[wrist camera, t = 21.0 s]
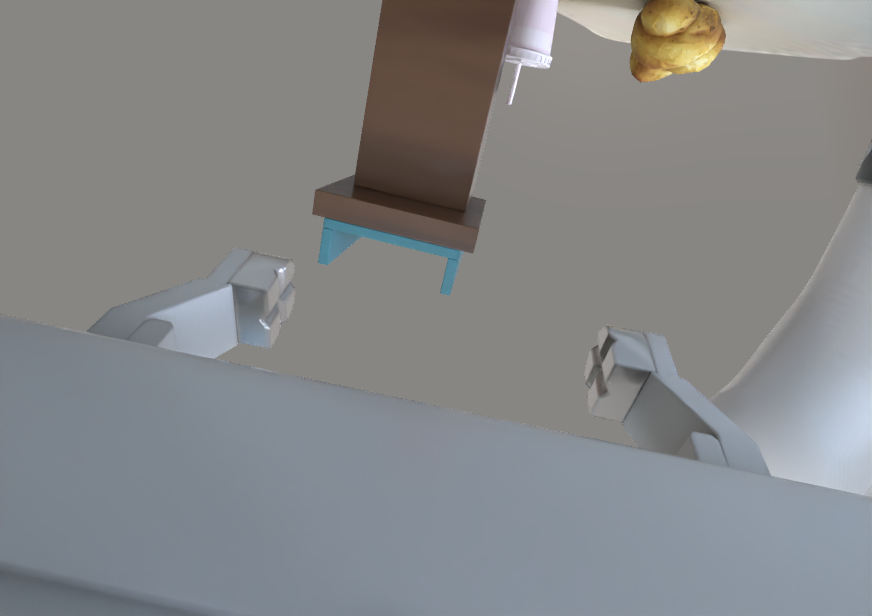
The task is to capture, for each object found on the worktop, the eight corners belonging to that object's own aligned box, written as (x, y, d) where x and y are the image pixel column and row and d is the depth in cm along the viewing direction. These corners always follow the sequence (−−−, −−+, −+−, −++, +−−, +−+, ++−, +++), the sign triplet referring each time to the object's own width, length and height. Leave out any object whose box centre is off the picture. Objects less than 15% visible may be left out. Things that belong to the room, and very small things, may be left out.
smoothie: (510, -44, 55) (477, 97, 60) (522, -60, 49) (485, 97, 54) (568, -28, 56) (531, 110, 61) (586, -42, 50) (544, 111, 55)
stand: (365, -191, 32) (311, 214, 41) (573, -148, 32) (473, 253, 41) (409, -95, 47) (363, 188, 56) (552, -64, 47) (482, 217, 56)
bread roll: (634, -19, 54) (608, 65, 57) (736, -7, 50) (703, 82, 53) (649, 12, 65) (627, 81, 68) (733, 24, 61) (706, 97, 64)
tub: (324, 217, 41) (317, 263, 43) (460, 250, 41) (449, 295, 42) (370, 191, 55) (364, 226, 57) (472, 216, 55) (463, 251, 56)
